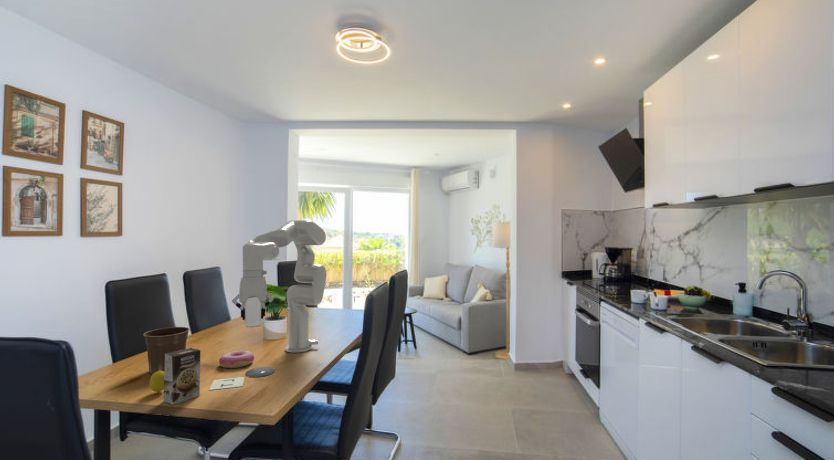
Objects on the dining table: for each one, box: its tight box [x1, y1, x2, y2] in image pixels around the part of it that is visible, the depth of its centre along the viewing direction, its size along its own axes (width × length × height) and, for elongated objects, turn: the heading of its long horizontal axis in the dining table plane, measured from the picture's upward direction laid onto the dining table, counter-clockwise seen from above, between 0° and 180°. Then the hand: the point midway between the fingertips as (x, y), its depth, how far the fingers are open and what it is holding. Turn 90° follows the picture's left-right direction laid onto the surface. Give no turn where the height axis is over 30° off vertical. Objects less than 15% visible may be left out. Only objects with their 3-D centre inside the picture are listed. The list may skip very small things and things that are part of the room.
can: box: [244, 297, 263, 328], centre depth 157 cm, size 6×6×12 cm
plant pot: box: [142, 326, 191, 375], centre depth 162 cm, size 16×16×16 cm
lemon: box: [149, 370, 164, 394], centre depth 139 cm, size 6×6×8 cm
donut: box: [218, 350, 255, 369], centre depth 170 cm, size 14×13×5 cm
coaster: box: [245, 366, 276, 378], centre depth 160 cm, size 11×11×1 cm
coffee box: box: [163, 347, 201, 406], centre depth 134 cm, size 9×6×16 cm
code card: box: [208, 376, 246, 391], centre depth 148 cm, size 11×10×1 cm
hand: (253, 318), depth 157 cm, fingers closed on can, 6 cm apart
